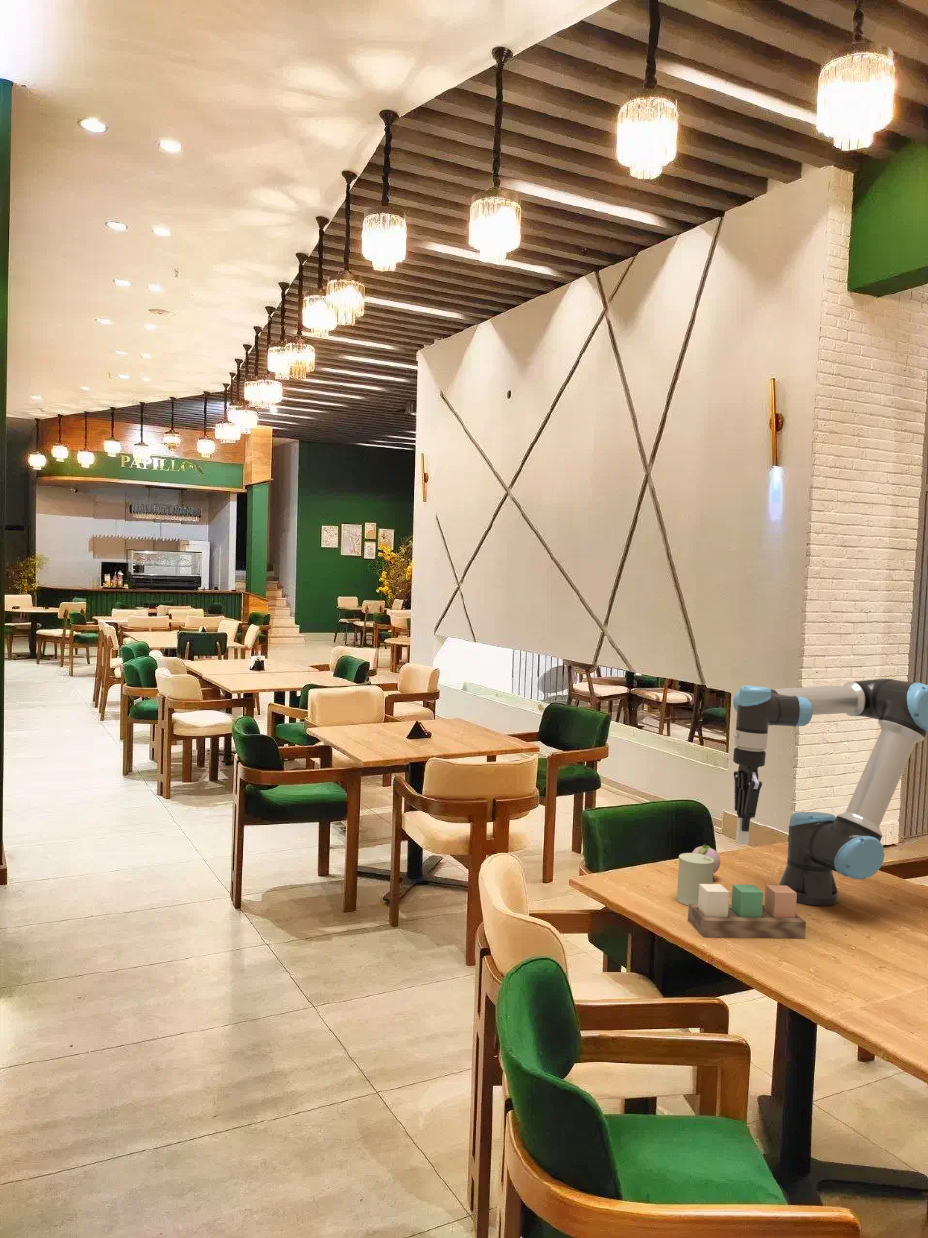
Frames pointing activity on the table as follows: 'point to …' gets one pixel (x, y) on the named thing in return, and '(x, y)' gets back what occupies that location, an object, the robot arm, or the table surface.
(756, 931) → the walnut board
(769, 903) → the terracotta block
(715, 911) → the cream block
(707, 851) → the decorative fruit
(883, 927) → the table surface
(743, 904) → the green block
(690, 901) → the can
